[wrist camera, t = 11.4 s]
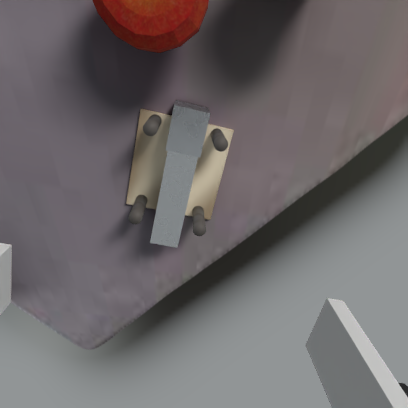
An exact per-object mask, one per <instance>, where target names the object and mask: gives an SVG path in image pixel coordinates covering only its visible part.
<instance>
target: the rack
mask: <svg viewBox="0 0 408 408" xmlns="http://www.w3.org/2000/svg"><path fill="white" fill-rule="evenodd" d="M171 118H172V116H171V115H167V114H163V113H158V112H154V111H150V110H145V109H141V110H140V117H139V123H138V130H137V136H136V143H135V149H134V156H133V162H132V169H131V175H130V182H129V189H128V195H127V202H126V204H130V205H133V207H132V210H131V212H130V215H129V221H130V222H131V223H132V224H139V223H140V222H141V221H142V217H143V214H144V211H145V208H151V209H157V204H158V199H159V193H160V188H161V183H162V178H163V172H164V167H165V162H166V157H167V152H168V151H167V150H166V145H167V139H168V134H169V129H170V124H171ZM233 131H234V130H232V129H228V128H224V127H219V126H215V125H211V124H208V126H207V131H206V135H205V139H204V144H203V148H202V152H201V157H200V158H199V157H198V160H197V164H196V169H195V173H194V177H193V182H192V186H191V191H190V195H189V199H188V204H187V208H186V212H185V215H187V216H192V217H193V233H194V234H195V235H197V236H202V235H204V234H205V232H206V227H205V219H208V220H210V219H211V215H212V211H213V207H214V203H215V200H216V196H217V192H218V188H219V184H220V181H221V177H222V173H223V169H224V165H225V161H226V158H227V154H228V150H229V146H230V142H231V139H232V135H233Z"/></svg>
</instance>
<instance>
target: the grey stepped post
mask: <svg viewBox="0 0 408 408" xmlns="http://www.w3.org/2000/svg"><path fill="white" fill-rule="evenodd" d="M209 118H210V112H209V110H208V108H207V107H203V106H199V105H195V104H190V103H186V102H182V101H178V100H176V101H175V104H174V108H173V113H172V118H171V124H170V129H169V134H168V139H167V145H166V150H167V151H168V152H167V157H166V162H165V167H164V172H163V178H162V183H161V188H160V193H159V199H158V204H157V209H156V214H155V219H154V225H153V230H152V235H151V240H150V243H154V244H159V245H165V246H171V247H176V248H177V247H178V243H179V239H180V234H181V230H182V226H183V221H184V217H185V212H186V208H187V204H188V199H189V195H190V191H191V186H192V182H193V177H194V173H195V169H196V164H197V160H198V157H199V158H200V157H201V152H202V148H203V144H204V139H205V135H206V131H207V126H208V122H209Z"/></svg>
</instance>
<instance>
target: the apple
mask: <svg viewBox="0 0 408 408" xmlns="http://www.w3.org/2000/svg"><path fill="white" fill-rule="evenodd" d="M208 2H209V0H93V3H94V5H95V7H96V10H97V12H98V14H99V15H100V16H101V18H102V19H103V20H104V22H105V23H106V24H107V25H108V27H109V28H110V29H111V31H112V32H113V33H114V34H115V35H116V36H117V37H118V38H120V39H122V40H123V41H125V42H127V43H128V44H130V45H132V46H133V47H135V48H137V49H140V50H146V51H151V52H157V53H161V52H164V51H167V50H170V49H173V48H177V47H180V46H181V45H183V44H184V43H185V42H186V41H187V40H189V39H190V38H191V37H192V36H193V35H195V34H196V33H197V32H198V31H199V29H200V26H201V24H202V21H203V19H204V16H205V14H206V11H207V9H208Z"/></svg>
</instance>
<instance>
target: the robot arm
mask: <svg viewBox="0 0 408 408" xmlns="http://www.w3.org/2000/svg"><path fill="white" fill-rule="evenodd" d="M11 256H12V245H9V244H3V243H0V315H1V314H2V313H3V311H4V310H5V309H6V307H7V306H8V305H9V304H10V302H11ZM306 347H307V350H308V352H309V354H310V357H311V359H312V361H313V364H314V366H315V369H316V371H317V373H318V376H319V378H320V380H321V383H322V385H323V387H324V389H325V392H326V395H327V397H328V399H329V402H330V404H331V406H332V408H408V387H407V386H406V385H405V384H403V383H398V382H397V381H396V379H395V378H394V376H393V375H392V373H391V372H390V370H389V369H388V367H387V366H386V364H385V363H384V361H383V360H382V358H381V357H380V355H379V354H378V352H377V351H376V349H375V348H374V347H373V345H372V343H371V342H370V340H369V339H368V337H367V336H366V334H365V333H364V331H363V330H362V328H361V327H360V325H359V324H358V322H357V321H356V319H355V318H354V316H353V315H352V313H351V312H350V310H349V309H348V307H347V306H346V304H345V303H344V301H341V300H335V299H330V298H327V299H326V301H325V304H324V306H323V308H322V310H321V313H320V315H319V317H318V319H317V321H316V324H315V326H314V328H313V330H312V332H311V334H310V337H309V339H308V341H307V343H306Z"/></svg>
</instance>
